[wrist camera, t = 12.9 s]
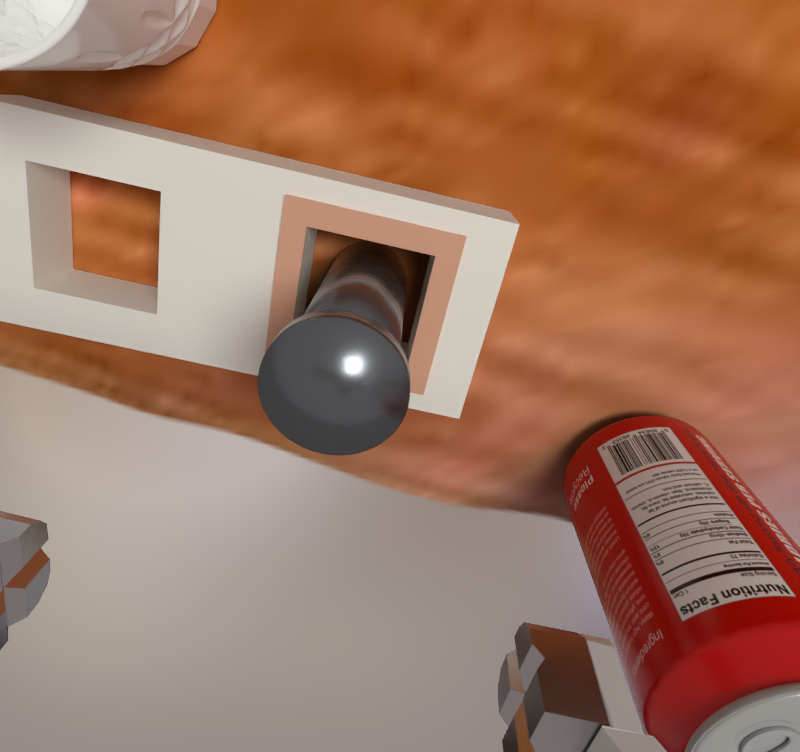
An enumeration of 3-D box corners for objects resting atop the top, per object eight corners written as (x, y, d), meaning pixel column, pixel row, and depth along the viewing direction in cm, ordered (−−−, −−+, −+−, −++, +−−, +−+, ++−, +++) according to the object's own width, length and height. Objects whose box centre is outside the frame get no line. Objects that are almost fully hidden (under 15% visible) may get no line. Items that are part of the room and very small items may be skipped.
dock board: (509, 211, 25) (520, 225, 22) (455, 388, 29) (459, 420, 26) (21, 94, 23) (-36, 94, 21) (35, 297, 27) (-11, 320, 24)
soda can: (636, 377, 28) (833, 634, 15) (741, 459, 30) (1002, 754, 16) (528, 479, 31) (609, 772, 17) (630, 548, 33) (774, 861, 19)
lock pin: (425, 245, 26) (425, 338, 15) (403, 333, 27) (392, 468, 17) (329, 223, 25) (266, 303, 15) (314, 313, 27) (250, 438, 17)
